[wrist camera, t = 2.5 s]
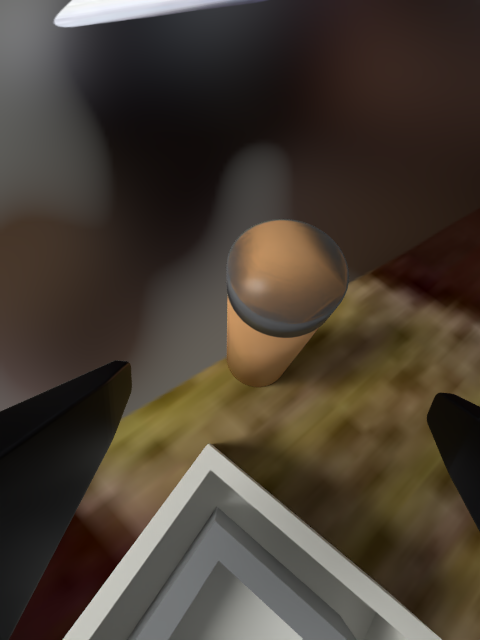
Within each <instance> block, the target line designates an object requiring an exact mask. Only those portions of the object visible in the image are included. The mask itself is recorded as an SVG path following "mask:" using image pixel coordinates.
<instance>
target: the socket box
mask: <svg viewBox="0 0 480 640" xmlns="http://www.w3.org/2000/svg"><path fill="white" fill-rule="evenodd" d="M63 640H442V639H441V638H440V637H438V636H437V635H436V634H435V633H434V632H433V631H432V630H431V629H430V628H428V627H427V626H426V625H425V624H424V623H423V622H422V621H421V620H419V619H418V618H417V617H416V616H415V615H414V614H413V613H412V612H410V611H409V610H408V609H407V608H406V607H405V606H404V605H403V604H401V603H400V602H399V601H398V600H397V599H396V598H395V597H394V596H393V595H391V594H390V593H389V592H388V591H387V590H385V589H384V588H383V587H382V586H381V585H379V584H378V583H377V582H376V581H375V580H373V579H372V578H371V577H370V576H369V575H367V574H366V573H365V572H364V571H363V570H361V569H360V568H359V567H358V566H357V565H355V564H354V563H353V562H352V561H351V560H350V559H348V558H347V557H346V556H345V555H344V554H342V553H341V552H340V551H339V550H338V549H336V548H335V547H334V546H333V545H332V544H330V543H329V542H328V541H327V540H326V539H324V538H323V537H322V536H321V535H320V534H318V533H317V532H316V531H315V530H314V529H312V528H311V527H310V526H309V525H308V524H306V523H305V522H304V521H303V520H302V519H300V518H299V517H298V516H297V515H296V514H294V513H293V512H292V511H291V510H290V509H289V508H287V507H286V506H285V505H284V504H283V503H281V502H280V501H279V500H278V499H277V498H275V497H274V496H273V495H272V494H271V493H269V492H268V491H267V490H266V489H265V488H263V487H262V486H261V485H260V484H259V483H257V482H256V481H255V480H254V479H253V478H251V477H250V476H249V475H248V474H247V473H245V472H244V471H243V470H242V469H241V468H239V467H238V466H237V465H236V464H235V463H234V462H232V461H231V460H230V459H229V458H228V457H226V456H225V455H224V454H223V453H222V452H220V451H219V450H218V449H217V448H216V447H214V446H213V445H212V444H207V446H206V447H205V448H204V450H203V451H202V452H201V454H200V455H199V456H198V458H197V459H196V460H195V462H194V463H193V464H192V466H191V467H190V469H189V470H188V471H187V473H186V474H185V475H184V477H183V478H182V479H181V481H180V482H179V483H178V485H177V486H176V487H175V489H174V490H173V491H172V493H171V494H170V496H169V497H168V498H167V500H166V501H165V502H164V504H163V505H162V506H161V508H160V509H159V510H158V512H157V513H156V514H155V516H154V517H153V518H152V520H151V521H150V523H149V524H148V525H147V527H146V528H145V529H144V531H143V532H142V533H141V535H140V536H139V537H138V539H137V540H136V541H135V543H134V544H133V545H132V547H131V548H130V550H129V551H128V552H127V554H126V555H125V556H124V558H123V559H122V560H121V562H120V563H119V564H118V566H117V567H116V568H115V570H114V571H113V572H112V574H111V575H110V577H109V578H108V579H107V581H106V582H105V583H104V585H103V586H102V587H101V589H100V590H99V591H98V593H97V594H96V595H95V597H94V598H93V599H92V601H91V602H90V604H89V605H88V606H87V608H86V609H85V610H84V612H83V613H82V614H81V616H80V617H79V618H78V620H77V621H76V622H75V624H74V625H73V626H72V628H71V629H70V631H69V632H68V633H67V635H66V636H65V637H64V639H63Z"/></svg>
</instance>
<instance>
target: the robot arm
mask: <svg viewBox="0 0 480 640" xmlns="http://www.w3.org/2000/svg"><path fill="white" fill-rule="evenodd" d="M131 388H132V380H131V365H130V363H129V362H127V361H113V362H111V363H108V364H106V365H104V366H102V367H99V368H97V369H95V370H93V371H90V372H88V373H86V374H84V375H81V376H79V377H77V378H75V379H72V380H70V381H68V382H66V383H63V384H61V385H59V386H57V387H54V388H52V389H50V390H48V391H46V392H43V393H41V394H39V395H36V396H34V397H32V398H30V399H27V400H25V401H23V402H21V403H18V404H16V405H14V406H12V407H9V408H7V409H5V410H3V411H0V640H9V638H10V636H11V634H12V632H13V630H14V628H15V626H16V624H17V622H18V621H19V619H20V617H21V615H22V613H23V611H24V609H25V607H26V605H27V603H28V601H29V600H30V598H31V596H32V594H33V592H34V590H35V588H36V586H37V584H38V582H39V580H40V578H41V577H42V575H43V573H44V571H45V569H46V567H47V565H48V563H49V561H50V559H51V557H52V555H53V554H54V552H55V550H56V548H57V546H58V544H59V542H60V540H61V538H62V536H63V534H64V532H65V531H66V529H67V527H68V525H69V523H70V521H71V519H72V517H73V515H74V513H75V511H76V509H77V508H78V506H79V504H80V502H81V500H82V498H83V496H84V494H85V492H86V490H87V488H88V486H89V485H90V483H91V481H92V479H93V477H94V475H95V473H96V471H97V469H98V467H99V465H100V463H101V462H102V460H103V458H104V456H105V454H106V452H107V450H108V448H109V446H110V444H111V442H112V440H113V438H114V435H115V433H116V430H117V428H118V425H119V423H120V420H121V417H122V415H123V412H124V409H125V407H126V404H127V402H128V399H129V396H130V394H131ZM427 423H428V426H429V428H430V430H431V433H432V435H433V438H434V440H435V442H436V445H437V447H438V449H439V452H440V454H441V457H442V459H443V461H444V464H445V466H446V468H447V470H448V473H449V475H450V477H451V479H452V481H453V482H454V484H455V486H456V488H457V490H458V492H459V494H460V496H461V497H462V499H463V501H464V503H465V505H466V507H467V509H468V511H469V512H470V514H471V516H472V518H473V520H474V522H475V524H476V525H477V527H478V529H479V531H480V407H479V406H477V405H475V404H473V403H471V402H469V401H467V400H465V399H463V398H461V397H459V396H457V395H455V394H450V393H438V394H437V395H436V396H435V397H434V400H433V402H432V405H431V407H430V409H429V412H428V414H427Z"/></svg>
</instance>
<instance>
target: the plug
mask: <svg viewBox="0 0 480 640" xmlns="http://www.w3.org/2000/svg"><path fill="white" fill-rule="evenodd" d="M348 283H349V271H348V266H347V262H346V259H345V257H344V255H343V254H342V251H341V249H340V248H339V247H338V245H337V244H336V243H335V242H334V241H333V240H332V239H331V238H330V237H329V236H328V235H327V234H325V233H324V232H323V231H321V230H320V229H318V228H316V227H314V226H312V225H309V224H307V223H304V222H300V221H296V220H288V219H276V220H269V221H265V222H262V223H259V224H256V225H254V226H252V227H250V228H249V229H248V230H246V231H245V232H243V233H242V234H241V235H240V236H239V237H238V238H237V240H236V241H235V243H234V244H233V246H232V248H231V250H230V252H229V255H228V260H227V294H228V310H227V311H228V312H227V363H228V367H229V369H230V371H231V373H232V374H233V375H234V377H235V378H236V379H237V380H239V381H240V382H242V383H243V384H245V385H248V386H252V387H263V386H267V385H270V384H272V383H274V382H275V381H276V380H278V379H279V378H280V376H281V375H282V374H283V373H284V371H285V370H286V369H287V368H288V366H289V365H290V364H291V362H292V361H293V360H294V359H295V357H296V356H297V355H298V354H299V352H300V351H301V350H302V349H303V347H304V346H305V345H306V343H307V342H308V341H309V340H310V338H311V337H312V336H313V335H314V333H315V332H316V331H317V329H318V328H319V327H320V326H321V325H322V324H323V323H325V321H326V320H327V319H328V318H329V317H330V315H331V314H332V313H333V312H334V310H335V309H336V308H337V307H338V305H339V304H340V303H341V301H342V300H343V298H344V296H345V294H346V291H347V288H348Z"/></svg>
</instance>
